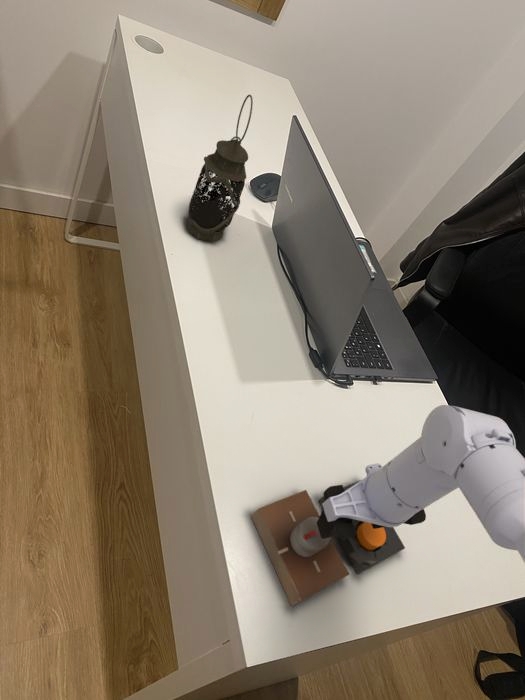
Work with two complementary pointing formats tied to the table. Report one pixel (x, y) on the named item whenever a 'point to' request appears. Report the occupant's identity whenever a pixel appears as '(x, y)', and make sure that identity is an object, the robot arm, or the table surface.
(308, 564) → the dimmer panel
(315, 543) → the dial
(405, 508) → the robot arm
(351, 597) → the table surface
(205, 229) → the lantern
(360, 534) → the switch button
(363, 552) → the switch block
